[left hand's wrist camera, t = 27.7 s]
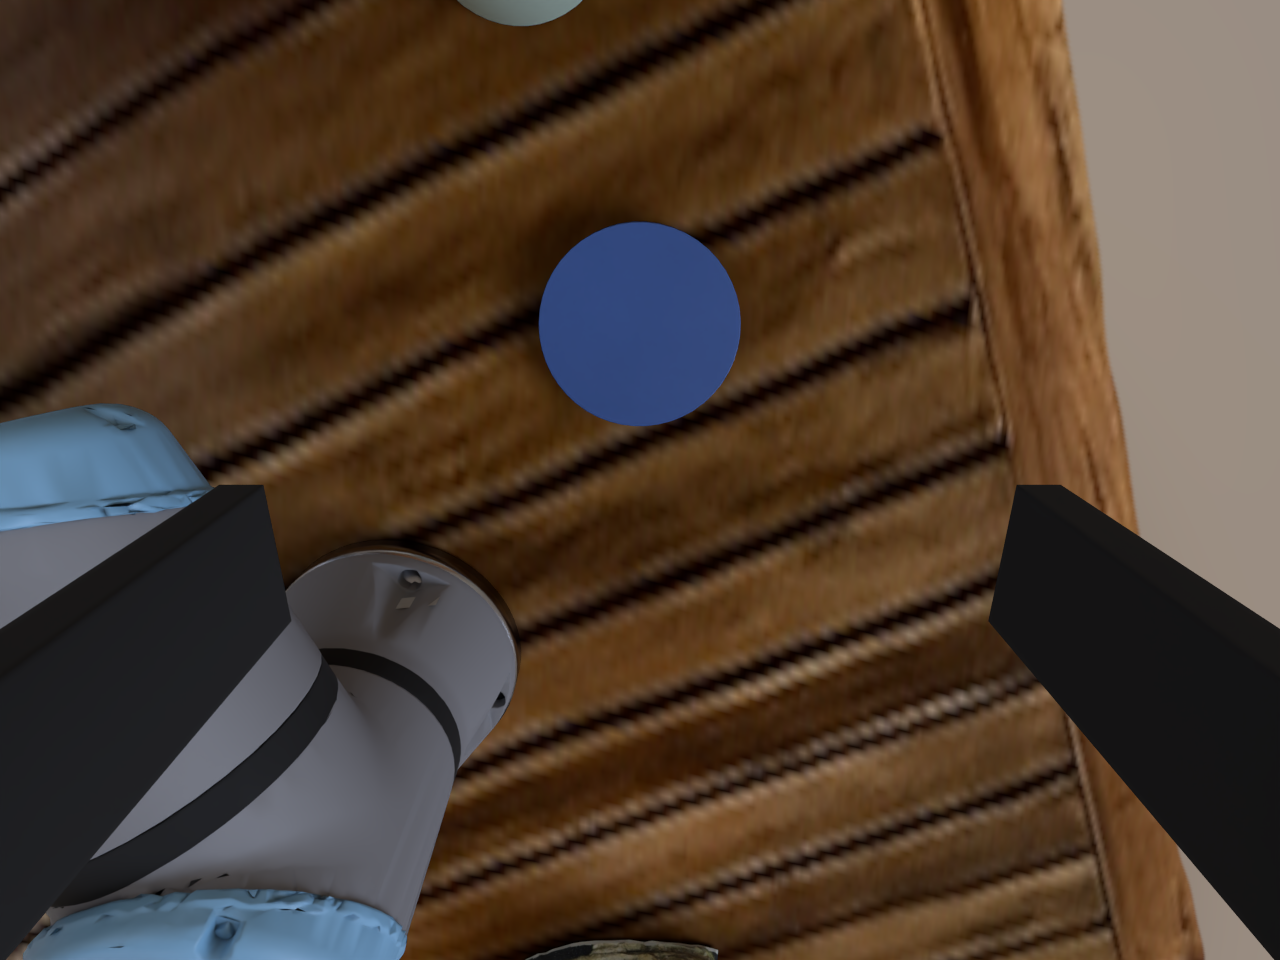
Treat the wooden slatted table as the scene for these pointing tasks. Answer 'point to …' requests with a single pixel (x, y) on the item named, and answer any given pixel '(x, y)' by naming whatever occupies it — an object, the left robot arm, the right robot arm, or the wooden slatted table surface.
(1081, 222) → the wooden slatted table surface
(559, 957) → the fossil
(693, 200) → the wooden slatted table surface
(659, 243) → the lid
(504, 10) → the jar
